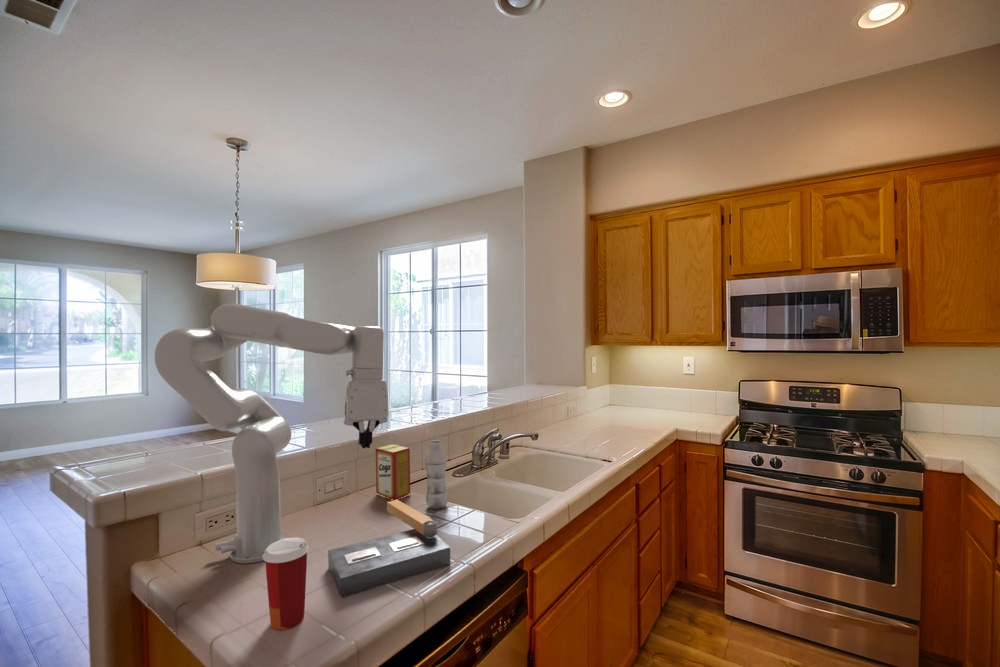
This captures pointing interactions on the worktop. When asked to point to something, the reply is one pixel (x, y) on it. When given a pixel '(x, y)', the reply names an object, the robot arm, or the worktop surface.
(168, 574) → the worktop surface
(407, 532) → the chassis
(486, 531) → the worktop surface
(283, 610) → the paper cup
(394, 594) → the worktop surface
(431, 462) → the plastic bottle
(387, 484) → the red and yellow box
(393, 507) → the light orange bar
